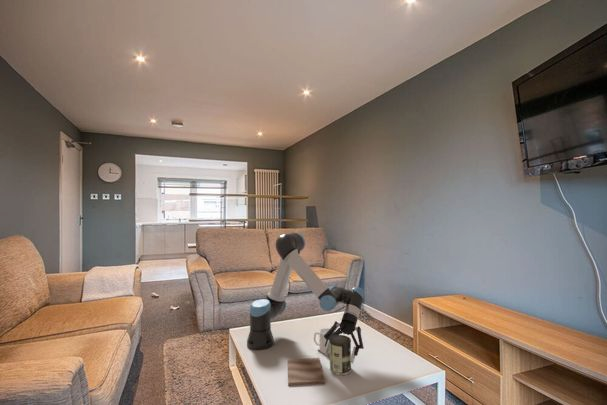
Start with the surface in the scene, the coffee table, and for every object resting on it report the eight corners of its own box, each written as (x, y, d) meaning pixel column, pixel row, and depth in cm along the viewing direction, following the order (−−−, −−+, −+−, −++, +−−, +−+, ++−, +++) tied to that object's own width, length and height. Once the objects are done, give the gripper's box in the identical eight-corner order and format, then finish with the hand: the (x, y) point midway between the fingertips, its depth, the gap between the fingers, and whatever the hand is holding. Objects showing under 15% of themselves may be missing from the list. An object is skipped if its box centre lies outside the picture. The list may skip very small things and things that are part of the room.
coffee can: (349, 363, 144) (349, 334, 145) (352, 375, 134) (352, 344, 134) (328, 363, 144) (328, 334, 145) (330, 375, 134) (330, 344, 135)
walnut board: (287, 361, 146) (287, 359, 146) (319, 360, 148) (319, 357, 148) (288, 385, 126) (288, 382, 127) (324, 383, 128) (324, 380, 128)
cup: (331, 355, 152) (331, 335, 153) (310, 350, 158) (310, 331, 158) (337, 348, 160) (336, 329, 160) (316, 344, 165) (316, 326, 165)
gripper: (376, 324, 146) (365, 368, 133) (331, 315, 159) (318, 354, 146) (372, 317, 142) (361, 362, 129) (326, 308, 155) (312, 348, 142)
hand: (338, 358), depth 138 cm, fingers open, 13 cm apart
